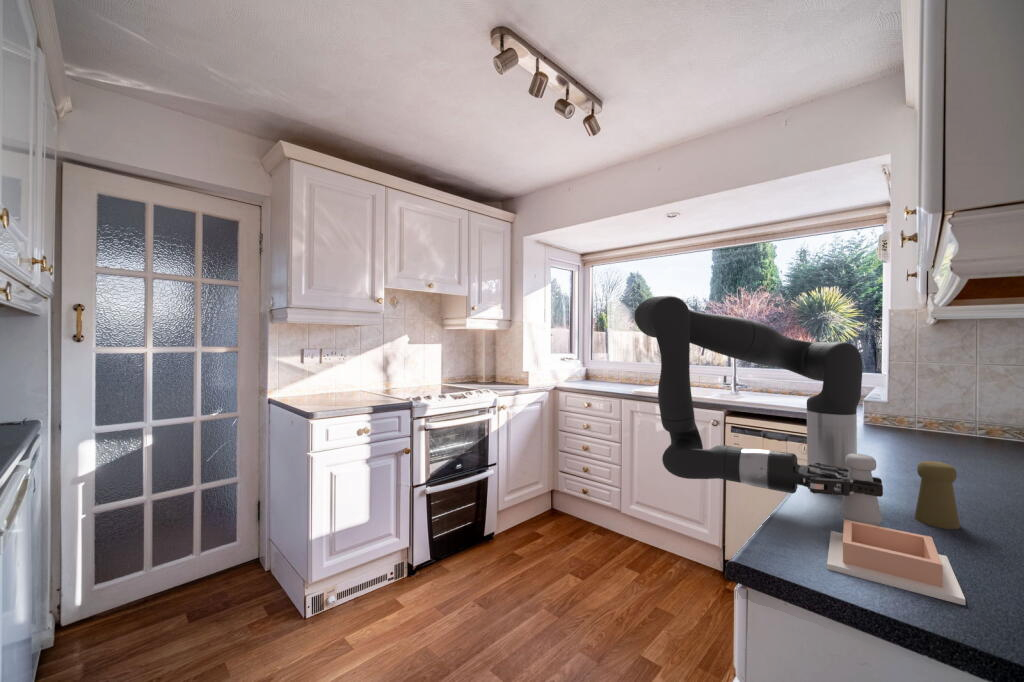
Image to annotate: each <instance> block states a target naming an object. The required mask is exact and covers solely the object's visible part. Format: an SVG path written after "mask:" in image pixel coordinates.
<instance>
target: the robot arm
mask: <svg viewBox="0 0 1024 682" xmlns="http://www.w3.org/2000/svg"><path fill="white" fill-rule="evenodd" d="M634 322H635V324H636V326H637V328H638V329H639V330H640V331H641V332H642V333H643V334H644V335H646V336H648V337H651V338H654V339H656V342H657V344H658V350H659V354H660V361H661V363H660V374H659V375H660V376H659V381H658V387H657V400H658V407H659V414H660V420H661V421H660V422H661V425H662V428H663V429H664V430H665V431H667V432H668V433H669V438H670V444H669V446H668V447H667V448H665V450H664V452H663V454H662V456H661V458H662V459H661V461H662V465H663V467H664V468H665V469H666V470H667V472H668V473H670V474H671V475H673V476H675V477H678V478H682V479H689V480H712V479H715V480H716V479H717V480H718V479H719V480H724V481H729V482H735V483H739V484H740V483H741V484H745V485H748V486H751V487H755V488H759V489H760V488H761V489H766V490H771V491H777V492H782V493H786V494H787V493H788V494H795V493H796V492H797V490H798V486H799V485H800V486H801V487H802V486H803V487H806V488H807V489H808V490H809V492H810V493H812V494H818V495H819V494H822V495H823V494H824V495H831V496H832V495H833V496H836V495H837V496H843V495H844V496H849V495H850V494H854V491H855V493H860V494H863V493H864V494H866V495H872V496H877V498H879V497H883V496H884V485H883V482H882V479H881V478H880V477H875V476H872V478H873V482H871V481H861V480H856V479H855V482H854V479H852V478H847V476H848V472H849V468H850V467H848V466H846V464H845V458H846V456H847V455H848V454H854V453H856V454H858V427H857V426H858V423H857V422H858V420H857V417H858V416H857V411H858V409H857V408H858V406H859V403H860V401H861V399H862V398H861V396H862V382H863V369H864V368H863V359H862V355H861V352H860V351H859V349H858V347H856V346H855V345H854V344H852V343H849V342H846V341H845V342H844V341H808V340H807V341H806V340H799V339H794V338H791V337H787V336H784V335H782V334H781V332H779V331H777V330H776V329H775V328H774V327H772V326H771V325H767V324H765V323H762V322H759V321H757V320H756V321H755V320H751V319H748V318H744V317H738V316H734V315H726V314H721V313H720V314H717V313H710V312H709V313H708V312H706V313H705V312H700V311H695V310H691V309H690V308H689V307H688V305H687V303H686V302H685V301H684V299H682V298H680V297H677V296H675V295H661V296H652V297H650V298H647V299H645V300H643V301H642V302H641V303H639V305H638V306H637V307H636V309H635V312H634ZM690 344H692V345H695V346H697V347H700V348H702V349H705V350H708V351H711V352H713V353H717V354H719V355H722V356H727V357H729V358H732V359H736V360H739V361H744V362H748V363H753V364H756V365H764V366H769V367H770V366H772V367H778V368H781V369H784V370H787V371H790V372H792V373H795V374H796V375H797V374H798V375H800V376H802V377H804V378H808V379H809V380H813V381H817V382H822V387H821V388H822V389H821V391H820V392H819V393H818V394H816V395H813V396H810V397H807V400H806V464H805V465H804V464H799V463H798V457H797V455H796V454H795V453H790V452H785V451H775V450H770V449H769V450H768V449H762V448H749V447H748V448H745V447H744V448H743V447H737V446H732V445H731V446H730V445H716V446H713V447H711V448H709V449H708V448H707V449H706V448H705V449H704V445H703V440H702V438H701V435H700V432H699V428H698V426H697V424H696V418H695V417H696V416H695V410H694V404H693V403H694V402H693V396H692V391H691V390H692V387H691V376H690V375H691V373H690V371H691V369H690V360H691V359H690V358H691V357H690V356H691V355H690V352H691V351H690V349H691V345H690Z"/></svg>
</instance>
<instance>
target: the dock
mask: <svg viewBox="0 0 1024 682" xmlns="http://www.w3.org/2000/svg"><path fill="white" fill-rule="evenodd" d="M842 531H843V532H837V531H833V530H830V537H829V546H828V552H827V553H828V554H827V560H826V569H827V570H829V571H833V572H836V573H841V574H845V575H848V576H852V577H856V578H860V579H863V580H867V581H870V582H873V583H874V582H875V583H878V584H883V585H886V586H890V587H894V588H897V589H901V590H905V591H909V592H912V593H917V594H920V595H924V596H928V597H930V598H935V599H939V600H943V601H947V602H951V603H954V604H958V605H962V606H966V598H965V595H964V593H963V591H962V588H961V586H960V584H959V582H958V579H957V577H956V575H955V573H954V572H955V571H954V570H953V568H952V565H951V563H950V561H949V558H948V556H947V555H944V554H939V553H938V551H937V550H938V549H937V547H936V545H935V543H934V539H933V537H932V536H929V535H925V534H924V535H923V534H920V533H919V534H918V533H914V532H908V531H904V530H898V529H893V528H889V527H883V526H875V525H870V524H865V523H860V522H855V521H850V520H845V519H843V530H842Z"/></svg>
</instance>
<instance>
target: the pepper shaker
mask: <svg viewBox="0 0 1024 682" xmlns="http://www.w3.org/2000/svg"><path fill="white" fill-rule="evenodd" d="M916 469H917V470H916V471H917V474H918V476H919V477H920V478H921V480H920V485H919V489H918V490H919V491H918V496H917V500H916V501H917V503H916V508H915V513H914V520H915V521H917V522H918V523H919V522H920V523H921V524H924V525H927V526H930V527H935V528H940V529H945V530H946V529H947V530H959V529H961V524H960V518H959V514H958V512H959V511H958V507H957V506H958V505H957V501H956V495H955V490H954V485H953V483H954V482H956V481H957V477H958V476H957V474H958V473H957V471H956V469H955V467H954V466H952V465H950V464H948V463H945V462H941V461H934V460H924V461H923V460H922V461H920V462H919V463H918V465H917V468H916Z"/></svg>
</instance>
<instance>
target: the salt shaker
mask: <svg viewBox="0 0 1024 682" xmlns="http://www.w3.org/2000/svg"><path fill="white" fill-rule="evenodd" d="M845 464H846V466H848V467H850V468H849V472H848V476H847V478H852V479H854V482H855V479H856V480H861V481H871V482H873V478H872V477H873V473H872V471H875V470H876V469H877V461H876V459H875V458H874V457H873V456H870V455H868V454H863V453H857V454H856V453H854V454H848V455H847V456H846V458H845ZM841 498H842V499H841V503H840V507H839V512H840V515H841V517H842V520H844V519H845V520H850V521H855V522H860V523H865V524H870V525H875V526H879V525H880V524H881V523H882V521H883V517H882V513H881V509H880V504H879V500H878V496H872V495H866V494H864V493H863V494H860V493H855V491H854V494H850V495H849V496H844V495H842V497H841Z"/></svg>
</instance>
